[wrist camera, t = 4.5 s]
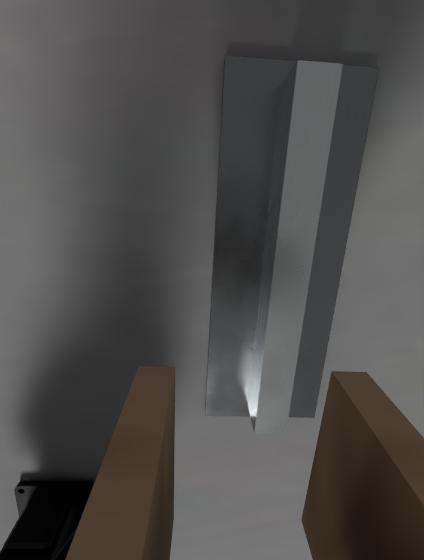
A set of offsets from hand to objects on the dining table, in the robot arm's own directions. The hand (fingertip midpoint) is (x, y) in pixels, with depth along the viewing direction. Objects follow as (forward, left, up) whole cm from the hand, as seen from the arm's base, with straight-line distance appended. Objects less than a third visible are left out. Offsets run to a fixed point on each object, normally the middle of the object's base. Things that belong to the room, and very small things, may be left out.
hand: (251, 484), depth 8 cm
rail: (+3, -3, -12) cm, 13 cm away
